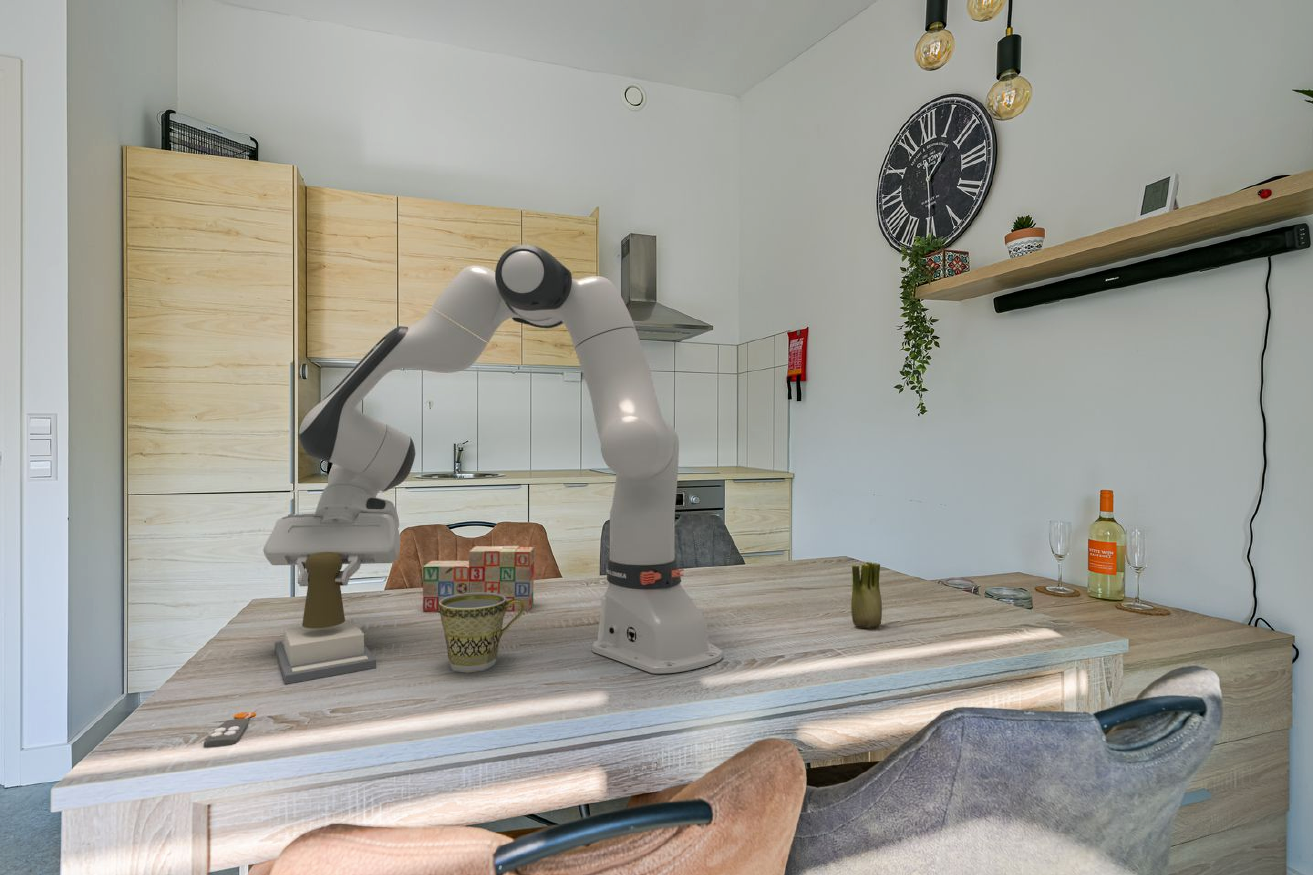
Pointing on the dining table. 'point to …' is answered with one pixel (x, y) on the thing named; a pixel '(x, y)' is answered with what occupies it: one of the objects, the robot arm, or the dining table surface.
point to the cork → (323, 591)
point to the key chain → (230, 730)
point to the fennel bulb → (866, 596)
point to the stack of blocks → (482, 576)
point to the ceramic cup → (474, 628)
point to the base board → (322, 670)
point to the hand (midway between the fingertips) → (322, 584)
